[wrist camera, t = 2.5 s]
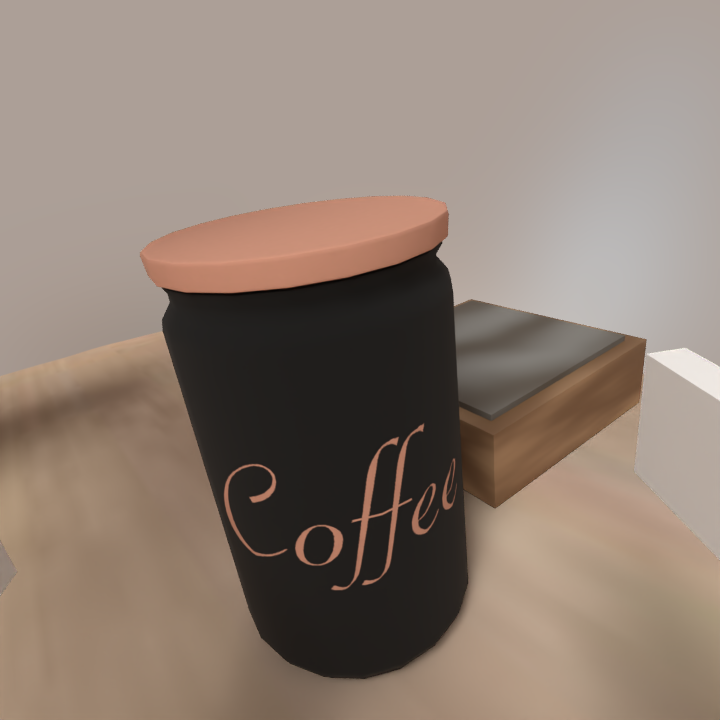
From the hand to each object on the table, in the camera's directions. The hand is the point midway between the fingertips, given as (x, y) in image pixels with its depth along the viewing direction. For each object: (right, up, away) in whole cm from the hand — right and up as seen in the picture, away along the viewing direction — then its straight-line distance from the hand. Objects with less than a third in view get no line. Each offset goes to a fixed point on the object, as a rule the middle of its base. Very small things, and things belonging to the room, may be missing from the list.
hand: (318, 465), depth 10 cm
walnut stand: (+10, -2, +29) cm, 31 cm away
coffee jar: (+1, -10, +15) cm, 18 cm away
